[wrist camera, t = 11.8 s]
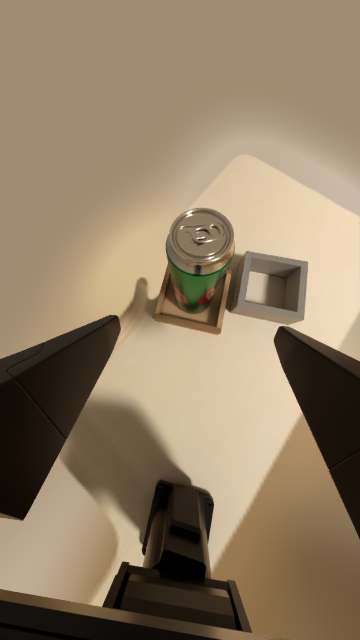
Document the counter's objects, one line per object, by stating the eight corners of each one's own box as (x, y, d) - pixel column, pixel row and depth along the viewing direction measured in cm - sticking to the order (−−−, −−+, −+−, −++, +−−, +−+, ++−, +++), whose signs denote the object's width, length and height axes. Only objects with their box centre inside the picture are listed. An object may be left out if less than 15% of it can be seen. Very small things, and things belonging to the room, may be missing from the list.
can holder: (287, 324, 21) (303, 320, 18) (230, 312, 22) (237, 306, 19) (292, 273, 23) (308, 261, 20) (239, 263, 24) (246, 251, 21)
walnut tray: (217, 334, 21) (220, 332, 20) (155, 320, 22) (152, 317, 20) (228, 277, 23) (232, 270, 21) (170, 266, 24) (169, 258, 22)
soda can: (171, 286, 23) (156, 212, 11) (205, 277, 23) (226, 195, 11) (180, 319, 22) (173, 276, 10) (215, 310, 22) (250, 257, 10)
